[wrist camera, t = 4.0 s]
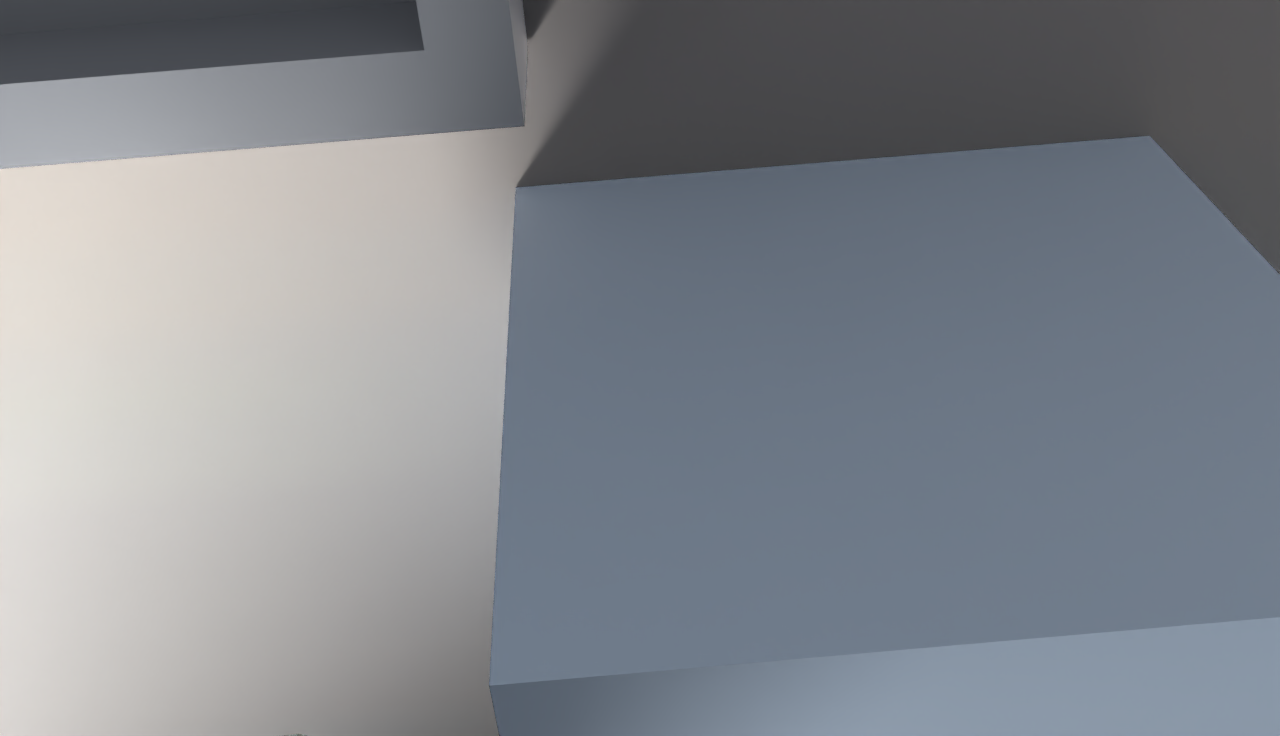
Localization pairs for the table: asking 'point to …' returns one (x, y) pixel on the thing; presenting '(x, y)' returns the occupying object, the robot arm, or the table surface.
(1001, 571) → the blue-gray cube
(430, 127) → the tray
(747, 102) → the table surface
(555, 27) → the table surface
